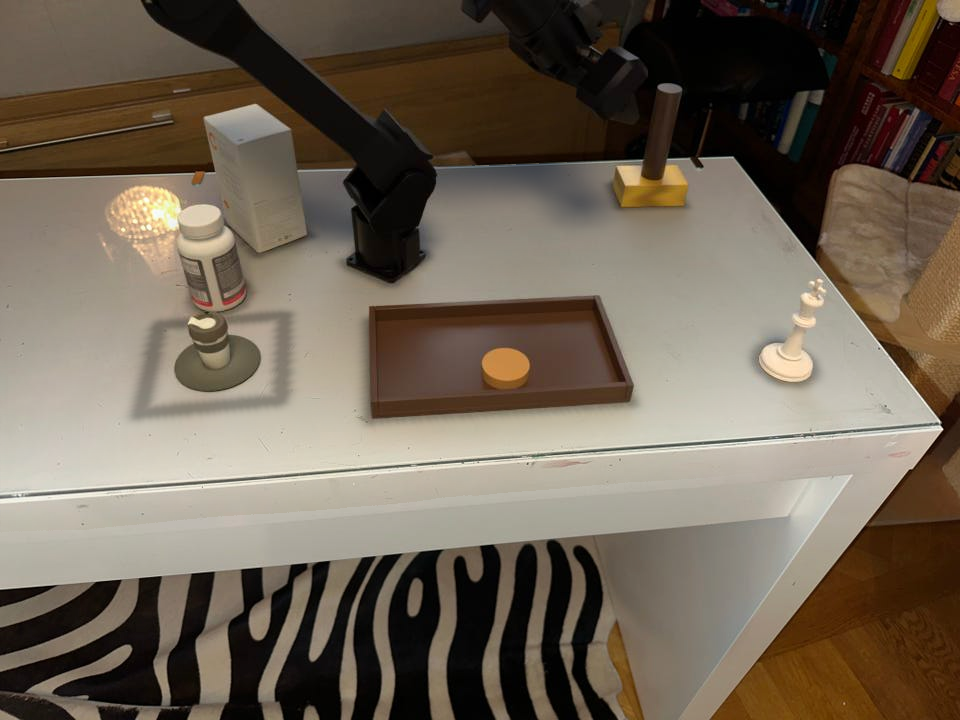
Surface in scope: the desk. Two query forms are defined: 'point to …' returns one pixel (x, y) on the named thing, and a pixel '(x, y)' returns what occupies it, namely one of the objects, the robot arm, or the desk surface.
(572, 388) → the tray
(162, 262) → the desk surface
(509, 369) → the disc
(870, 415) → the desk surface
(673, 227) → the desk surface
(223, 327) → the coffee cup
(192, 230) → the pill bottle
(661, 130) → the sponge wand
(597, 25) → the robot arm
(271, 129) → the small box
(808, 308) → the chess piece
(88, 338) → the desk surface
